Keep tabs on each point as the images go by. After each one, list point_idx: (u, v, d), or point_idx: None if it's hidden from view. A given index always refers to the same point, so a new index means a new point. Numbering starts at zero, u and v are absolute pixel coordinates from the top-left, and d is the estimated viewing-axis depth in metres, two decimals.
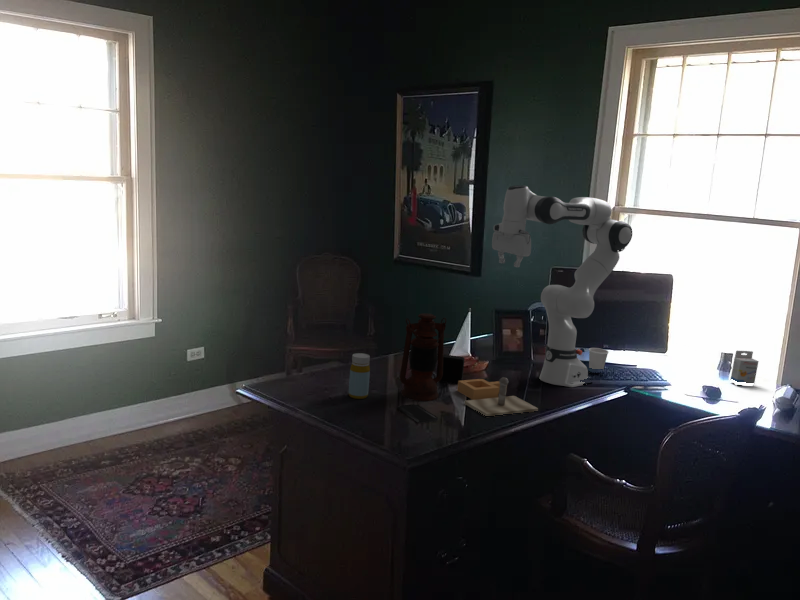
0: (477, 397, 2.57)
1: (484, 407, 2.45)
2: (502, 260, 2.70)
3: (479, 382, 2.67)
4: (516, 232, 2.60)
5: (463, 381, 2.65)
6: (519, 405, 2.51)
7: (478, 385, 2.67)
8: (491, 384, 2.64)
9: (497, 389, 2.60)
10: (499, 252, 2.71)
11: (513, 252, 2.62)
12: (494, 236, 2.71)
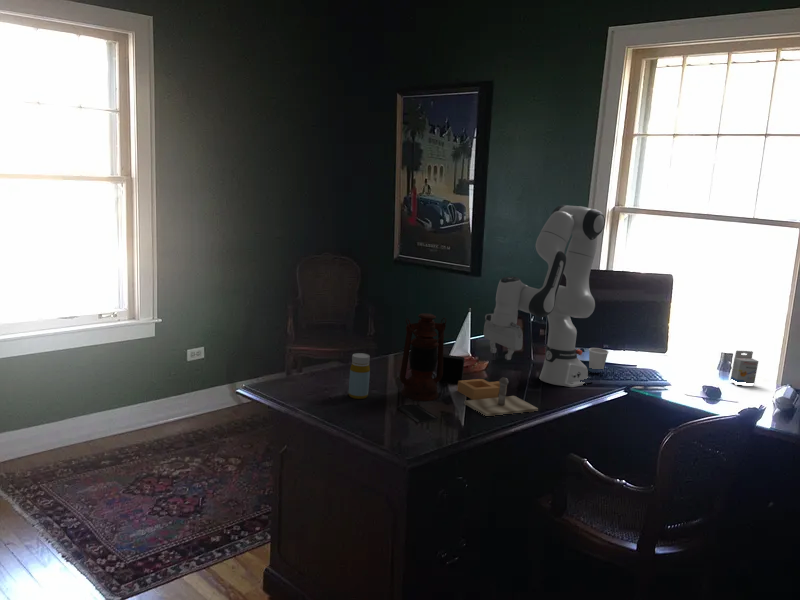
0: (477, 397, 2.57)
1: (484, 407, 2.45)
2: (493, 350, 2.68)
3: (479, 382, 2.67)
4: (508, 325, 2.58)
5: (463, 381, 2.65)
6: (519, 405, 2.51)
7: (478, 385, 2.67)
8: (491, 384, 2.64)
9: (497, 389, 2.60)
10: (490, 341, 2.69)
11: (504, 344, 2.60)
12: (486, 325, 2.69)
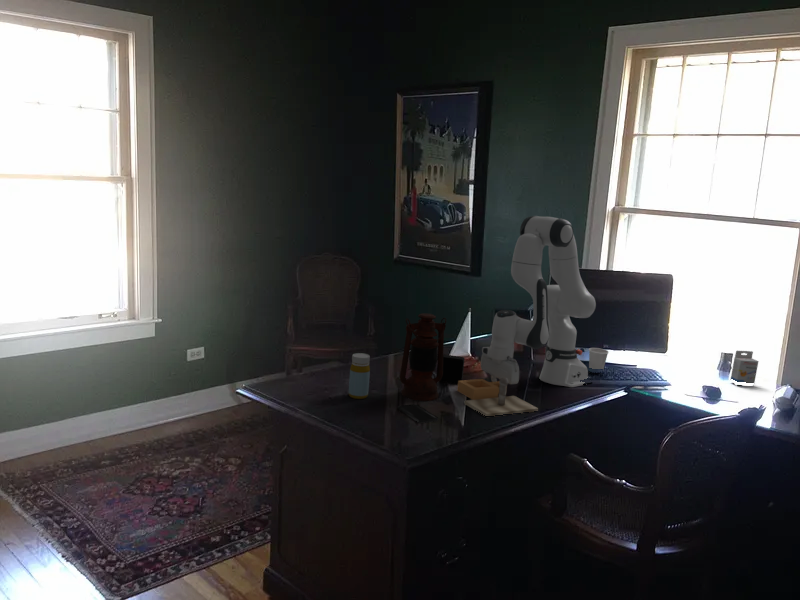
0: (477, 397, 2.57)
1: (484, 407, 2.45)
2: None
3: (479, 382, 2.67)
4: (504, 359, 2.61)
5: (463, 381, 2.65)
6: (519, 405, 2.51)
7: (478, 385, 2.67)
8: (491, 384, 2.64)
9: (497, 389, 2.60)
10: (492, 376, 2.69)
11: None
12: (483, 358, 2.72)
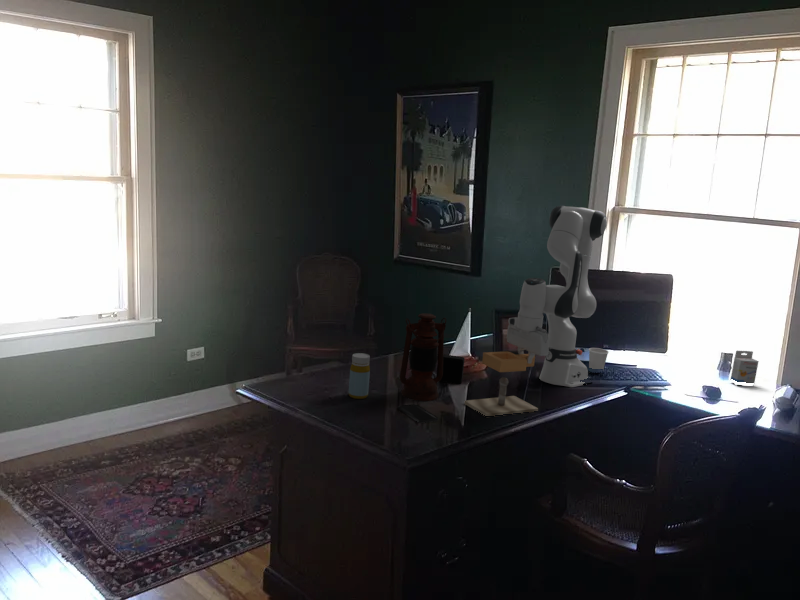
0: (504, 369, 2.41)
1: (484, 407, 2.45)
2: None
3: (505, 354, 2.52)
4: (533, 329, 2.46)
5: (488, 353, 2.49)
6: (519, 405, 2.51)
7: (504, 358, 2.52)
8: (518, 356, 2.48)
9: (525, 361, 2.45)
10: (519, 348, 2.53)
11: (529, 349, 2.47)
12: (509, 329, 2.56)
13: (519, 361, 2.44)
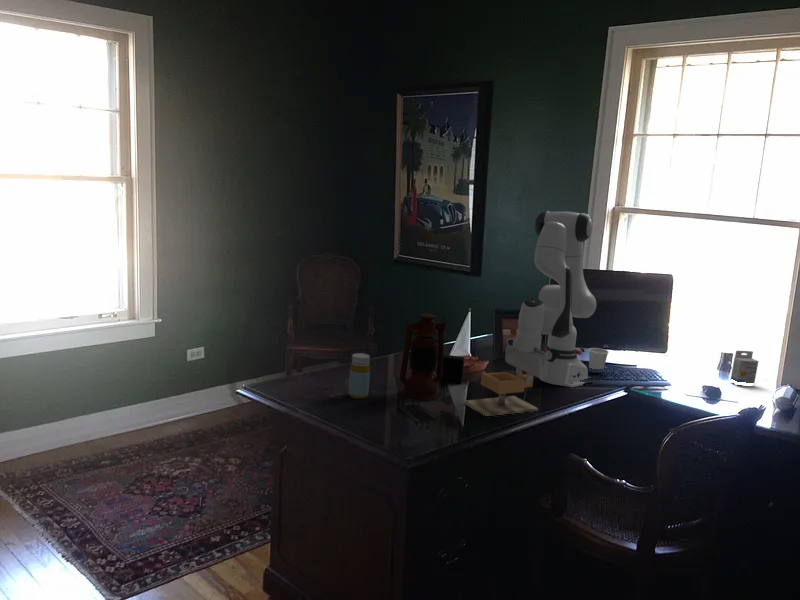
0: (502, 391, 2.42)
1: (484, 407, 2.45)
2: None
3: (504, 375, 2.53)
4: (531, 350, 2.47)
5: (487, 374, 2.50)
6: (519, 405, 2.51)
7: None
8: (517, 377, 2.49)
9: (523, 382, 2.46)
10: (517, 369, 2.54)
11: (528, 371, 2.48)
12: (507, 350, 2.57)
13: (517, 382, 2.45)
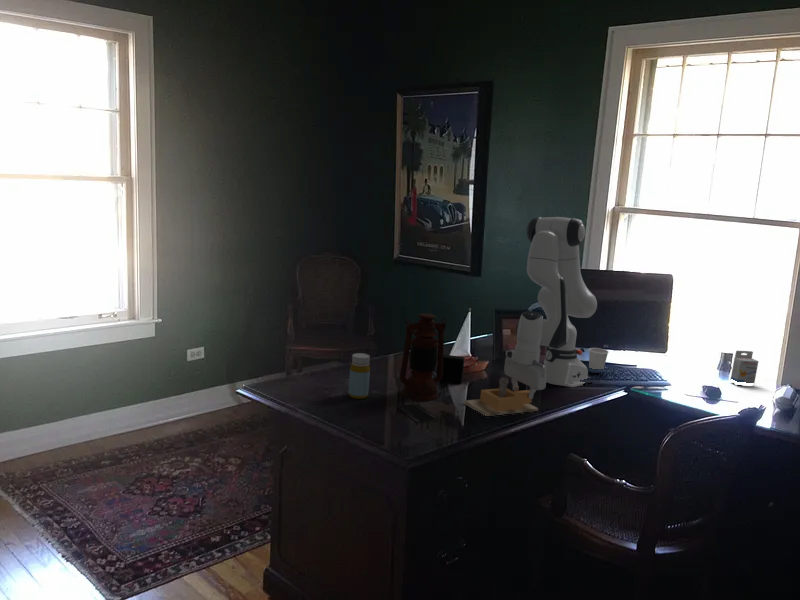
0: (502, 408, 2.44)
1: (484, 407, 2.45)
2: (516, 388, 2.57)
3: None
4: (530, 363, 2.47)
5: (486, 390, 2.51)
6: None
7: None
8: (516, 394, 2.51)
9: (522, 399, 2.47)
10: (512, 379, 2.57)
11: (527, 383, 2.49)
12: (506, 362, 2.58)
13: (516, 399, 2.46)
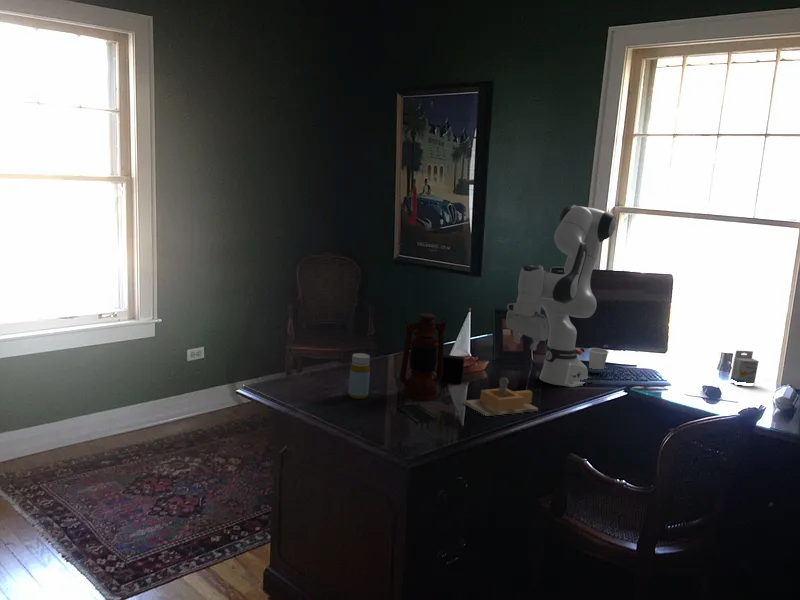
0: (502, 408, 2.44)
1: (484, 407, 2.45)
2: (517, 340, 2.59)
3: None
4: (532, 314, 2.49)
5: (486, 390, 2.51)
6: None
7: None
8: (516, 394, 2.51)
9: (522, 399, 2.47)
10: (514, 332, 2.59)
11: (529, 334, 2.50)
12: (508, 315, 2.60)
13: (516, 399, 2.46)
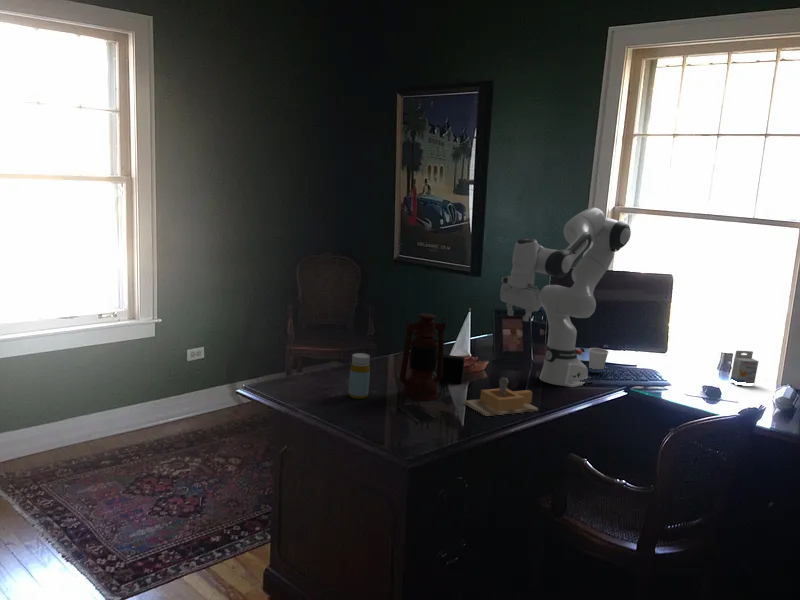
0: (502, 408, 2.44)
1: (484, 407, 2.45)
2: (511, 312, 2.67)
3: None
4: (525, 286, 2.57)
5: (486, 390, 2.51)
6: None
7: None
8: (516, 394, 2.51)
9: (522, 399, 2.47)
10: (507, 304, 2.68)
11: (522, 306, 2.58)
12: (502, 288, 2.68)
13: (516, 399, 2.46)
